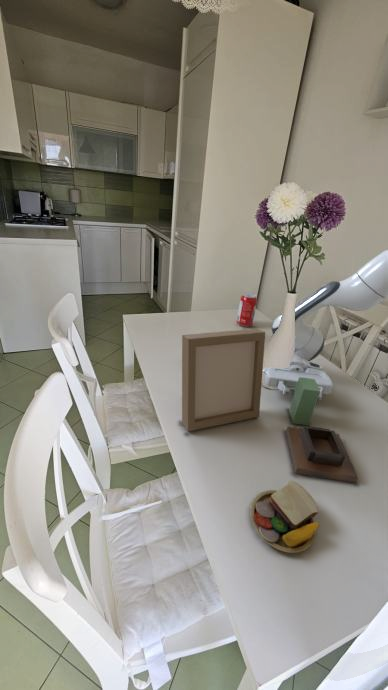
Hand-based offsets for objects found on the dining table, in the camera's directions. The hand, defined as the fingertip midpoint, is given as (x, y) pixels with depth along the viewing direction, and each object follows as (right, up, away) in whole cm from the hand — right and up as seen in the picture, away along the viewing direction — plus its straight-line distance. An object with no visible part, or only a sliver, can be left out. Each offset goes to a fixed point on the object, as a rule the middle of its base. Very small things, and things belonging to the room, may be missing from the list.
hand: (302, 395), depth 89 cm
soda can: (-7, +25, +60) cm, 65 cm away
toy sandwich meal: (-14, -20, -28) cm, 37 cm away
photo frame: (-26, -4, 0) cm, 26 cm away
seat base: (0, -13, -12) cm, 18 cm away
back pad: (-1, -7, +1) cm, 7 cm away
